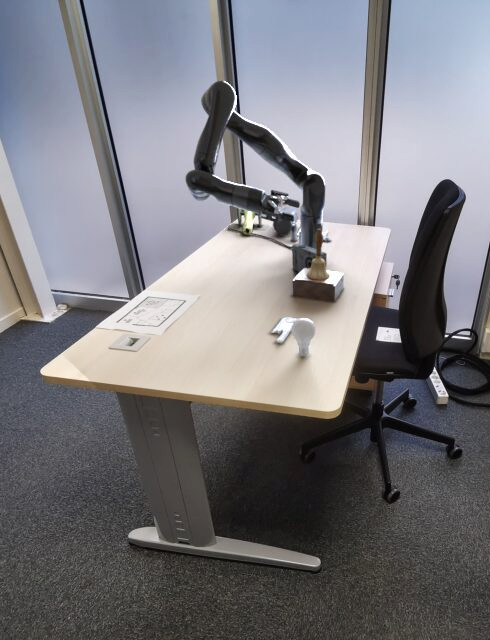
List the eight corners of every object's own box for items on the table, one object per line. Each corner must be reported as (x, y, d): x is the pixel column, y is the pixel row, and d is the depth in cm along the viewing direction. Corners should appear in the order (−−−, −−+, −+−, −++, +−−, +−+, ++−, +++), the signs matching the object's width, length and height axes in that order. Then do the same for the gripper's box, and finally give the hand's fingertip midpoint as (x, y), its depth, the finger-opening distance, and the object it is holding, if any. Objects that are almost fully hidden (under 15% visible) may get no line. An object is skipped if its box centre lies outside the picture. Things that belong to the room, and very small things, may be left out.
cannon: (260, 235, 211) (258, 211, 205) (234, 235, 210) (232, 210, 203) (262, 222, 231) (261, 199, 225) (239, 221, 230) (237, 198, 224)
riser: (292, 296, 154) (292, 279, 151) (303, 283, 165) (303, 266, 161) (334, 302, 152) (335, 285, 148) (343, 288, 162) (343, 272, 159)
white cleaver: (264, 341, 127) (264, 337, 126) (282, 319, 139) (282, 316, 138) (281, 343, 126) (281, 340, 125) (297, 321, 138) (297, 318, 137)
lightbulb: (292, 349, 124) (291, 313, 117) (315, 349, 124) (315, 313, 118) (291, 361, 118) (290, 324, 112) (315, 361, 119) (315, 324, 113)
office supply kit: (329, 244, 205) (329, 223, 200) (269, 240, 206) (268, 219, 201) (336, 222, 238) (337, 204, 233) (285, 218, 239) (284, 200, 234)
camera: (290, 268, 176) (290, 243, 171) (298, 266, 179) (297, 241, 173) (319, 280, 167) (319, 254, 162) (326, 278, 170) (327, 252, 164)
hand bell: (333, 273, 157) (334, 227, 148) (324, 281, 150) (325, 233, 142) (311, 269, 159) (311, 224, 150) (302, 277, 152) (301, 230, 143)
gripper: (254, 198, 153) (300, 210, 154) (242, 220, 144) (291, 233, 145) (255, 177, 147) (302, 190, 148) (242, 199, 138) (293, 213, 139)
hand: (296, 211), depth 147 cm, fingers open, 8 cm apart
